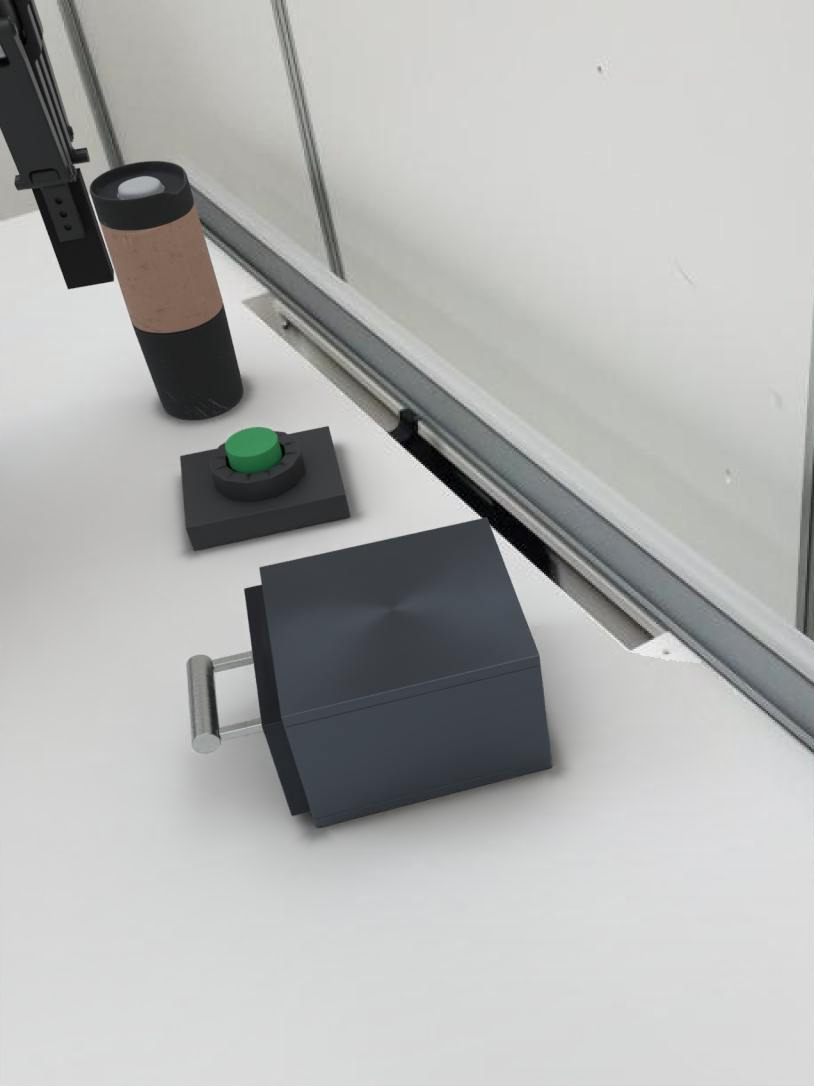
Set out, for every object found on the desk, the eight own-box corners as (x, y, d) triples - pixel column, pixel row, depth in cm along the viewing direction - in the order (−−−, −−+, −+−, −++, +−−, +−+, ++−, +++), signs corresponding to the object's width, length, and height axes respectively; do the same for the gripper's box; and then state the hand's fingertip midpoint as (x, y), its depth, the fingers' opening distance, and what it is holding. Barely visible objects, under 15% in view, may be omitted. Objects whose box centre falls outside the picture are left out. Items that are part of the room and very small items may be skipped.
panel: (193, 551, 97) (179, 509, 94) (187, 477, 104) (173, 437, 101) (350, 517, 99) (341, 475, 96) (333, 447, 106) (324, 406, 103)
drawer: (216, 835, 75) (180, 746, 70) (204, 692, 84) (171, 604, 79) (512, 760, 78) (499, 669, 73) (470, 630, 87) (455, 540, 82)
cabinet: (316, 828, 76) (281, 717, 70) (291, 676, 86) (258, 566, 79) (552, 767, 79) (539, 655, 72) (502, 626, 88) (487, 516, 82)
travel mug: (151, 390, 114) (79, 174, 101) (234, 366, 117) (174, 152, 104) (170, 431, 109) (97, 209, 96) (257, 405, 112) (197, 185, 98)
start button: (232, 479, 97) (226, 460, 96) (228, 451, 100) (223, 432, 99) (284, 468, 98) (279, 449, 97) (279, 440, 101) (274, 422, 100)
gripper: (10, -147, 58) (157, 318, 73) (23, -196, 67) (151, 225, 83) (-166, -127, 57) (21, 342, 72) (-127, -180, 66) (31, 245, 82)
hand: (91, 279), depth 78 cm, fingers closed
